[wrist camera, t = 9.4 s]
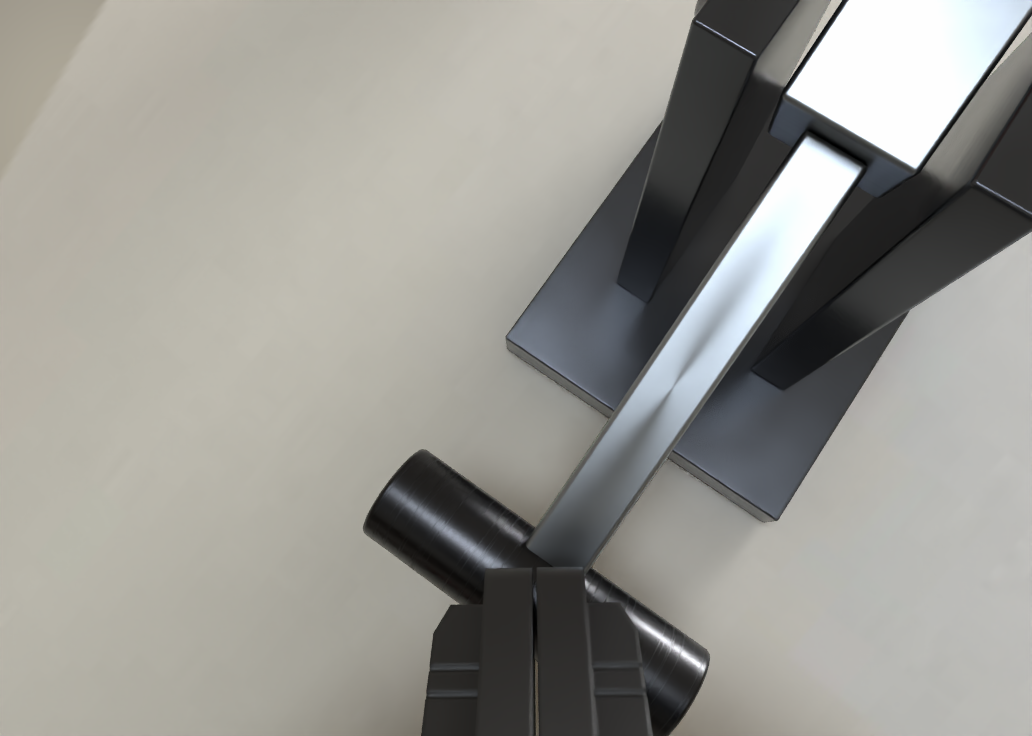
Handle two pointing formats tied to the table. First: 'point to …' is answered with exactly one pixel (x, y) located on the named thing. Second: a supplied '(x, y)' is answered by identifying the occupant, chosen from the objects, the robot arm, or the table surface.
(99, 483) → the table surface
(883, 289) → the lever stand
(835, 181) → the tap lever
